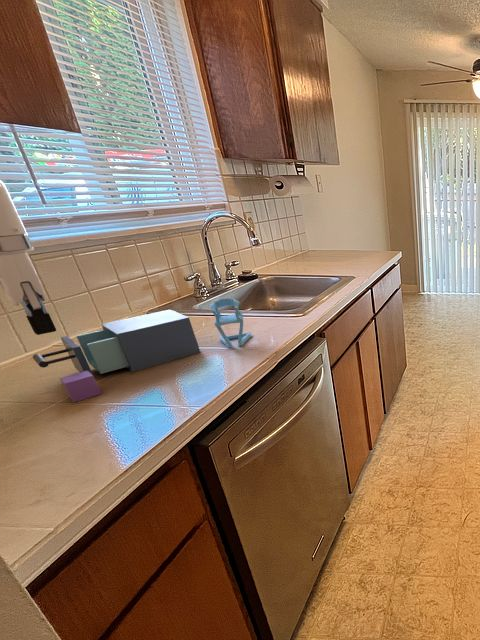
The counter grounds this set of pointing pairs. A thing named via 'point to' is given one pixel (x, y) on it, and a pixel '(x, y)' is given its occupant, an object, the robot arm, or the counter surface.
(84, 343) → the teal drawer
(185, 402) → the counter surface
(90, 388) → the purple cube
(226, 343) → the chair
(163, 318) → the grey drawer box
